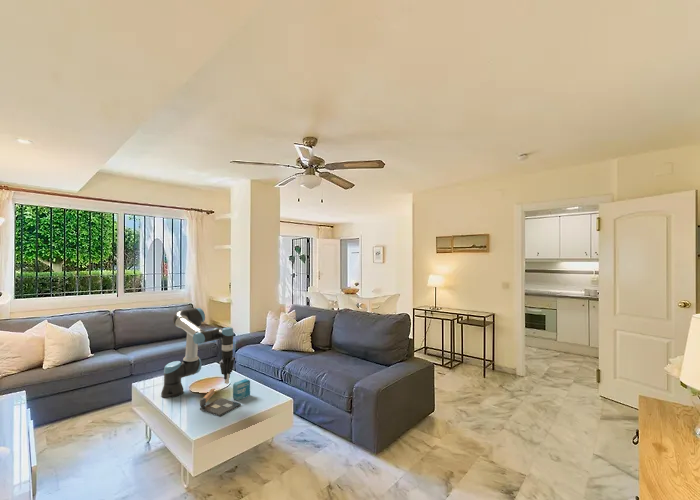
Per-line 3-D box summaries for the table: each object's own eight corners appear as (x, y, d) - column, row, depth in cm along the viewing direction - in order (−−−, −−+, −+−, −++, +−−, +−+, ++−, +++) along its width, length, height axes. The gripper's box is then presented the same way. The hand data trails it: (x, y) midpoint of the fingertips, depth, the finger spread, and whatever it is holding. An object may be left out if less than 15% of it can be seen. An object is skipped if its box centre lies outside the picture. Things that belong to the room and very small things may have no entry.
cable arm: (204, 405, 225) (204, 400, 225) (199, 406, 225) (199, 400, 225) (215, 393, 245) (215, 387, 246) (210, 393, 245) (210, 388, 245)
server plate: (199, 409, 226) (199, 405, 226) (221, 399, 241) (221, 395, 241) (219, 416, 216) (219, 412, 216) (240, 405, 232) (240, 401, 232)
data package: (236, 401, 239) (236, 384, 239) (232, 399, 242) (232, 383, 242) (250, 395, 249) (250, 379, 249) (246, 394, 251) (246, 378, 252)
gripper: (223, 353, 223) (222, 387, 223) (238, 348, 235) (237, 381, 235) (216, 351, 227) (215, 385, 227) (231, 346, 238) (230, 379, 238)
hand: (226, 383), depth 231 cm, fingers closed
